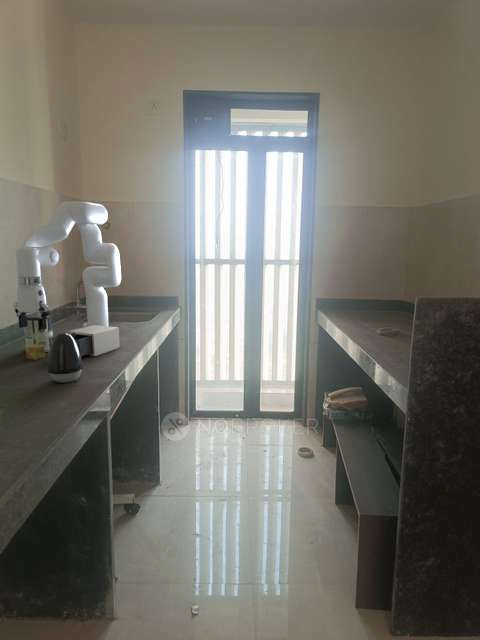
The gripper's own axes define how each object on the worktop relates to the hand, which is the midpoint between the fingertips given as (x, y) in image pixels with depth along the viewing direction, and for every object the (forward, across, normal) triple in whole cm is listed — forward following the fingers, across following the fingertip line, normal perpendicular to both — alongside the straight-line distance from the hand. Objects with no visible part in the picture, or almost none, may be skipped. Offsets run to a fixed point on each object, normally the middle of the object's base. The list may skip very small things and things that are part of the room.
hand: (33, 328), depth 153 cm
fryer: (+11, -12, -18) cm, 25 cm away
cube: (+11, 0, 0) cm, 11 cm away
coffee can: (+11, +8, -9) cm, 17 cm away
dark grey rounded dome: (+12, -30, +15) cm, 35 cm away
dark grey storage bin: (+10, -12, -6) cm, 17 cm away
